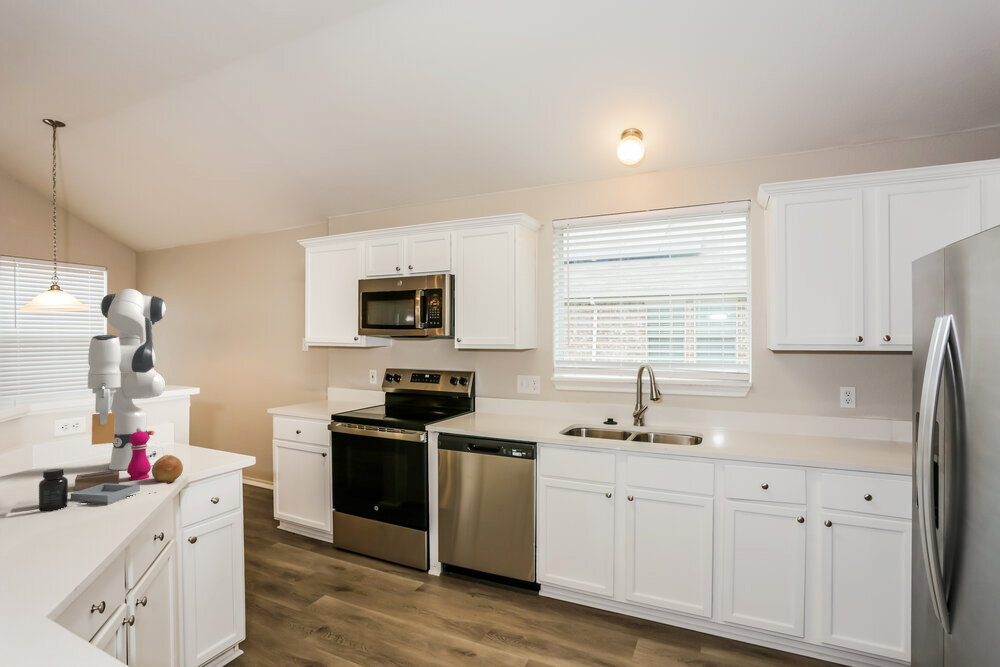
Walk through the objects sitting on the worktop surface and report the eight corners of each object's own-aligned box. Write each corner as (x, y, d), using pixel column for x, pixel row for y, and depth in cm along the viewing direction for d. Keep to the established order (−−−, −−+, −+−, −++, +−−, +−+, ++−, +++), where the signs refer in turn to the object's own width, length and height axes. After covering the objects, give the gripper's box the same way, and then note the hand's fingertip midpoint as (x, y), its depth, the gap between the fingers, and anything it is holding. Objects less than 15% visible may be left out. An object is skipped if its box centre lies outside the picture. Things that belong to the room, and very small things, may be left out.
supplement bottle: (44, 506, 164) (45, 468, 164) (71, 503, 166) (71, 466, 166) (34, 513, 157) (34, 473, 158) (62, 510, 160) (62, 471, 160)
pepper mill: (138, 484, 189) (138, 429, 189) (122, 483, 190) (122, 428, 190) (155, 478, 196) (155, 426, 196) (139, 477, 197) (139, 425, 197)
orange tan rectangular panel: (91, 444, 173) (92, 414, 173) (114, 442, 176) (114, 412, 177) (91, 444, 172) (92, 414, 172) (114, 442, 175) (114, 413, 176)
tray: (104, 491, 179) (104, 483, 179) (139, 493, 177) (139, 484, 177) (70, 502, 167) (70, 493, 167) (107, 504, 165) (107, 495, 165)
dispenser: (77, 489, 183) (77, 473, 183) (119, 483, 190) (119, 468, 190) (75, 494, 176) (75, 478, 176) (118, 488, 183) (118, 472, 183)
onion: (144, 484, 188) (144, 457, 188) (170, 477, 197) (170, 451, 197) (163, 487, 185) (163, 459, 185) (189, 480, 194) (189, 453, 194)
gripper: (115, 383, 168) (114, 426, 168) (116, 381, 185) (116, 420, 184) (90, 384, 165) (89, 428, 164) (94, 382, 181) (93, 421, 181)
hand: (103, 423), depth 174 cm, fingers closed on orange tan rectangular panel, 1 cm apart
